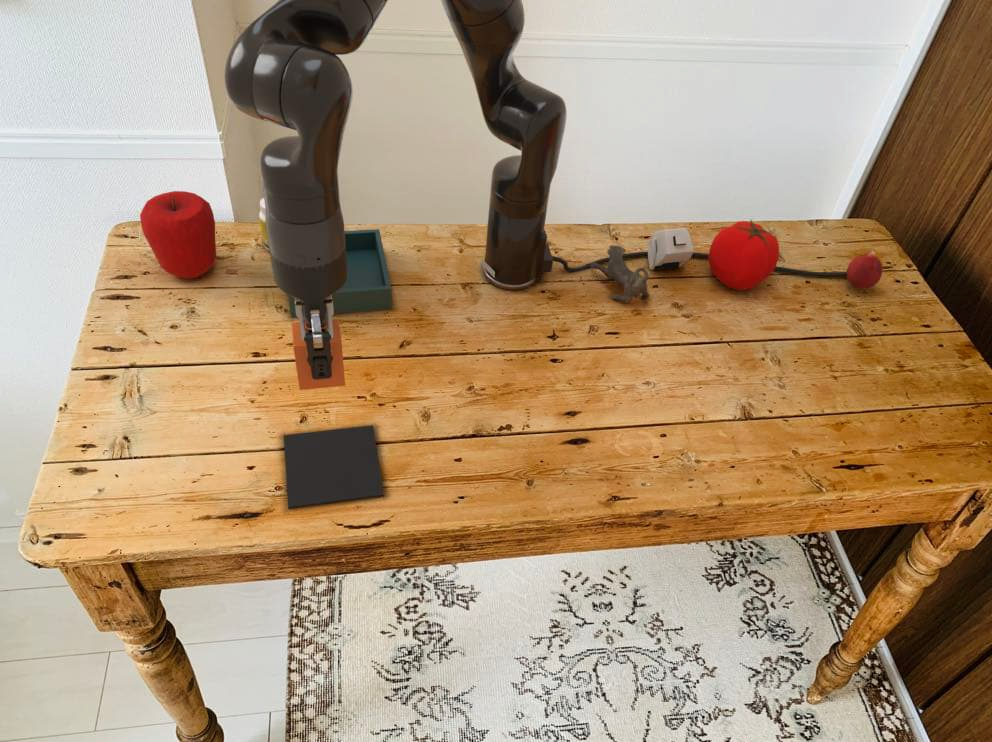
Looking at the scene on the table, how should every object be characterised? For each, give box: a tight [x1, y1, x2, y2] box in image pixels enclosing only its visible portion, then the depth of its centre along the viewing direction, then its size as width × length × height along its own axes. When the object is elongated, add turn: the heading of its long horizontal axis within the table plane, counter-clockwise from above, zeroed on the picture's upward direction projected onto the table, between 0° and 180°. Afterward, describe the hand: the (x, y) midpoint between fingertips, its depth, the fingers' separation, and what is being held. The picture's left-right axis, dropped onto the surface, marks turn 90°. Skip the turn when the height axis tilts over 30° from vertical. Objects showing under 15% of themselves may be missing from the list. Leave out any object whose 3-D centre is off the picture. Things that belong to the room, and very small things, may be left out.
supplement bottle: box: [258, 197, 269, 251], centre depth 134 cm, size 5×5×8 cm
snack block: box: [291, 318, 346, 391], centre depth 93 cm, size 5×4×7 cm
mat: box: [283, 424, 385, 509], centre depth 107 cm, size 12×12×1 cm
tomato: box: [708, 218, 780, 291], centre depth 140 cm, size 12×12×11 cm
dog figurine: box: [590, 244, 650, 304], centre depth 136 cm, size 12×6×7 cm, turn 29°
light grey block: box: [647, 227, 695, 271], centre depth 141 cm, size 6×7×10 cm
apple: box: [139, 190, 217, 280], centre depth 126 cm, size 10×10×14 cm
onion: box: [846, 250, 884, 290], centre depth 143 cm, size 6×6×8 cm
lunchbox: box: [287, 228, 393, 318], centre depth 131 cm, size 16×16×4 cm
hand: (320, 362), depth 94 cm, fingers closed on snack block, 4 cm apart
